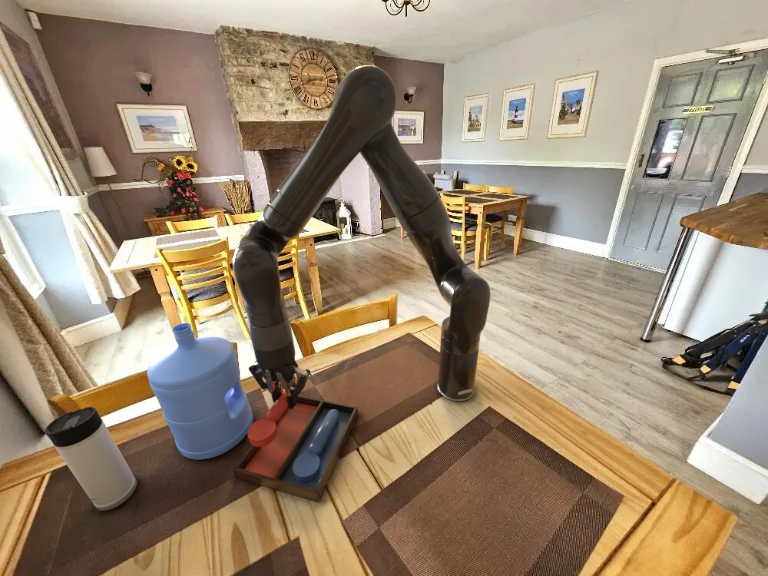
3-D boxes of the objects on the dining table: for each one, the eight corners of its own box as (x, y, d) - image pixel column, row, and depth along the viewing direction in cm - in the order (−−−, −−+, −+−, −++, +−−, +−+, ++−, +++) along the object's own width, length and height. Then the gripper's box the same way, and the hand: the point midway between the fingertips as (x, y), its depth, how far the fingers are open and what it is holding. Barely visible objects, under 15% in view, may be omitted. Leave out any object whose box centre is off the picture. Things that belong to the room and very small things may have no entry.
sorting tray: (292, 401, 79) (290, 393, 78) (358, 414, 75) (357, 406, 74) (236, 478, 61) (233, 469, 60) (318, 502, 56) (317, 493, 55)
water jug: (187, 477, 62) (136, 363, 50) (172, 429, 72) (127, 326, 61) (264, 432, 71) (236, 328, 59) (240, 395, 82) (213, 301, 70)
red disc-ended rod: (290, 384, 74) (288, 375, 73) (309, 388, 72) (308, 378, 71) (243, 443, 59) (240, 433, 58) (267, 449, 58) (264, 439, 57)
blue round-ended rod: (326, 413, 74) (325, 404, 73) (346, 417, 73) (345, 408, 72) (289, 479, 60) (286, 469, 59) (313, 485, 59) (311, 476, 57)
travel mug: (90, 520, 55) (34, 440, 46) (101, 487, 60) (52, 410, 52) (133, 502, 57) (87, 424, 49) (139, 472, 63) (99, 397, 54)
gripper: (313, 332, 62) (322, 398, 69) (254, 324, 66) (268, 387, 73) (294, 354, 56) (306, 424, 63) (229, 344, 59) (247, 411, 66)
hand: (286, 404), depth 68 cm, fingers closed on red disc-ended rod, 2 cm apart
